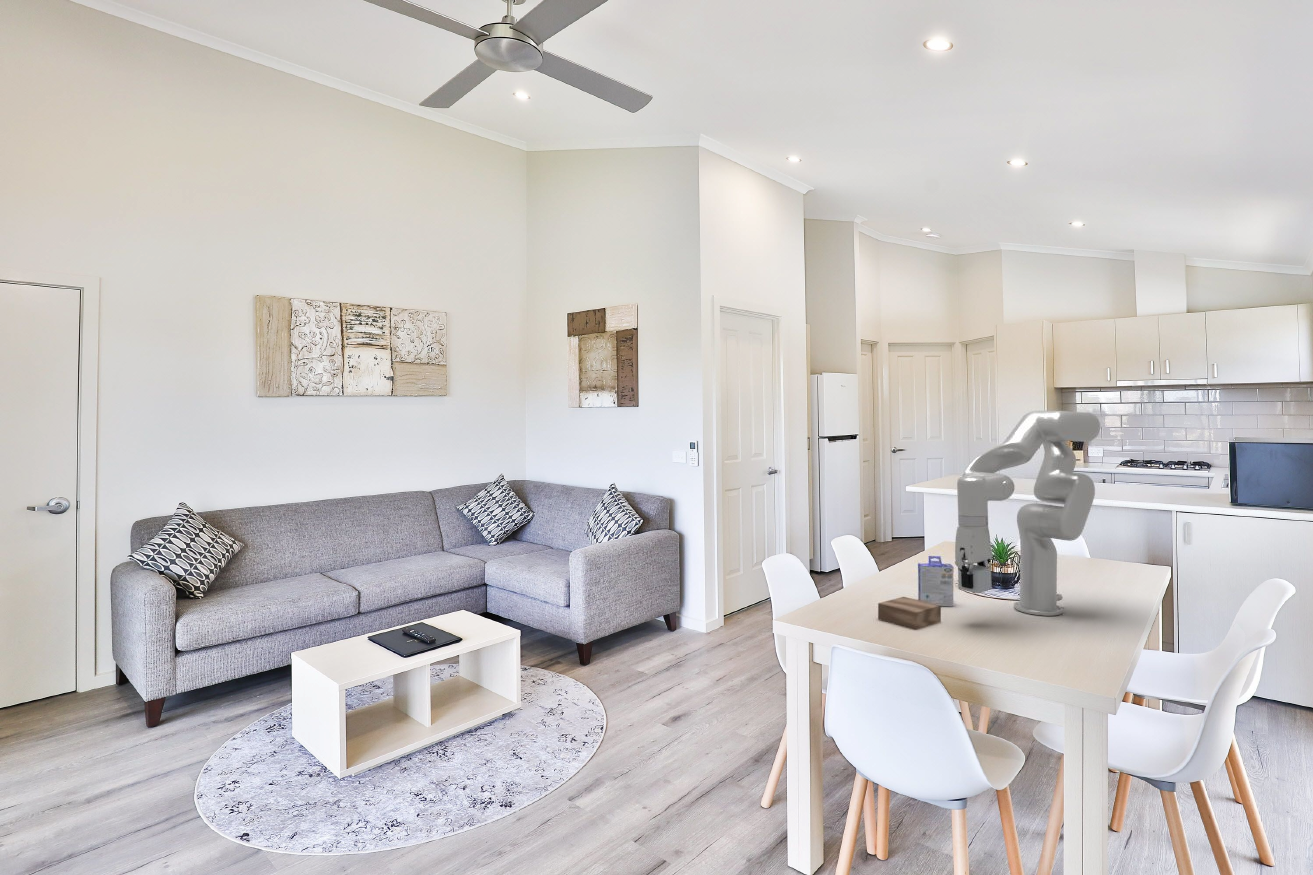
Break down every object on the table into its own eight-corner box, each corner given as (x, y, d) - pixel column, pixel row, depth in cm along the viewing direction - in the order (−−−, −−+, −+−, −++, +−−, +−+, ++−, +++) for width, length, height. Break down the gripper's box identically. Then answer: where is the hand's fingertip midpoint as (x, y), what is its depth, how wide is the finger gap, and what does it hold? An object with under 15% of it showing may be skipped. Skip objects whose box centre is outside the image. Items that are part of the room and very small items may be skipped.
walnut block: (903, 613, 207) (903, 596, 207) (940, 623, 197) (940, 605, 197) (878, 620, 200) (878, 603, 200) (915, 630, 190) (915, 612, 190)
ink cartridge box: (950, 602, 217) (950, 555, 217) (954, 607, 212) (954, 559, 212) (917, 600, 219) (917, 554, 219) (920, 605, 214) (920, 558, 213)
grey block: (971, 584, 199) (971, 564, 198) (991, 589, 194) (990, 567, 193) (958, 589, 196) (957, 567, 195) (978, 593, 190) (977, 571, 190)
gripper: (979, 515, 201) (981, 577, 202) (941, 523, 192) (943, 588, 193) (1004, 518, 195) (1006, 582, 196) (965, 527, 186) (967, 594, 187)
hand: (974, 584), depth 194 cm, fingers closed on grey block, 6 cm apart
